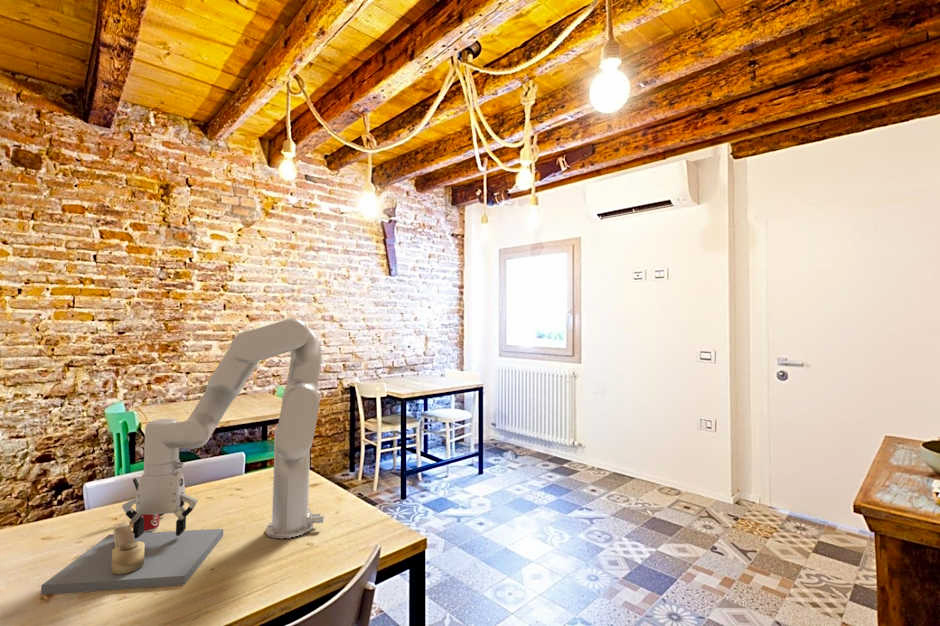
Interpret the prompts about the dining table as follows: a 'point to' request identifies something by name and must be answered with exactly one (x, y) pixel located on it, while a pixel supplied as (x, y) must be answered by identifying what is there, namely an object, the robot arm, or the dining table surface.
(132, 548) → the beige elongated piece
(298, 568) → the dining table surface
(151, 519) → the soda can
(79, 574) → the dial board
